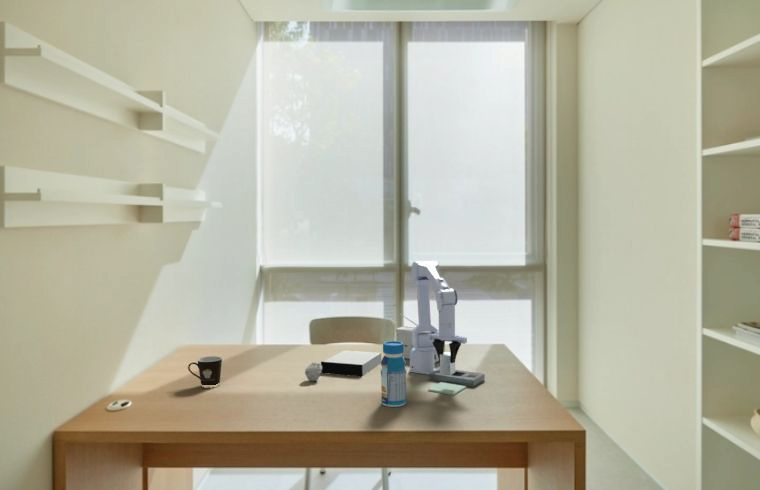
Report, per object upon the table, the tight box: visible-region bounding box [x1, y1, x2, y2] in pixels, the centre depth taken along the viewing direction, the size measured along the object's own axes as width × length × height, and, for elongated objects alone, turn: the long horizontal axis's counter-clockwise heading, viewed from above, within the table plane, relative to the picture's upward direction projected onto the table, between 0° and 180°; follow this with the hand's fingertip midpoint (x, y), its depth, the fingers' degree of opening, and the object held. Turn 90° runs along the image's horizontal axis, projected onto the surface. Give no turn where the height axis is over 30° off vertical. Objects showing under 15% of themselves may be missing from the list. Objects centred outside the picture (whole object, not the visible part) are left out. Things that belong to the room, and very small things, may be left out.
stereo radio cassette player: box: [395, 312, 446, 364], centre depth 242 cm, size 21×8×20 cm, turn 58°
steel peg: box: [439, 351, 456, 375], centre depth 198 cm, size 4×4×7 cm
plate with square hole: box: [428, 367, 485, 388], centre depth 209 cm, size 18×10×3 cm, turn 57°
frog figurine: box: [304, 361, 322, 382], centre depth 211 cm, size 6×7×7 cm
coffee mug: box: [187, 355, 223, 385], centre depth 206 cm, size 12×9×10 cm
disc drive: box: [320, 349, 382, 378], centre depth 229 cm, size 18×22×5 cm
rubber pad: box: [427, 382, 467, 396], centre depth 198 cm, size 10×10×1 cm
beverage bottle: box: [380, 340, 407, 408], centre depth 183 cm, size 8×8×20 cm
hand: (447, 361), depth 198 cm, fingers closed on steel peg, 4 cm apart
